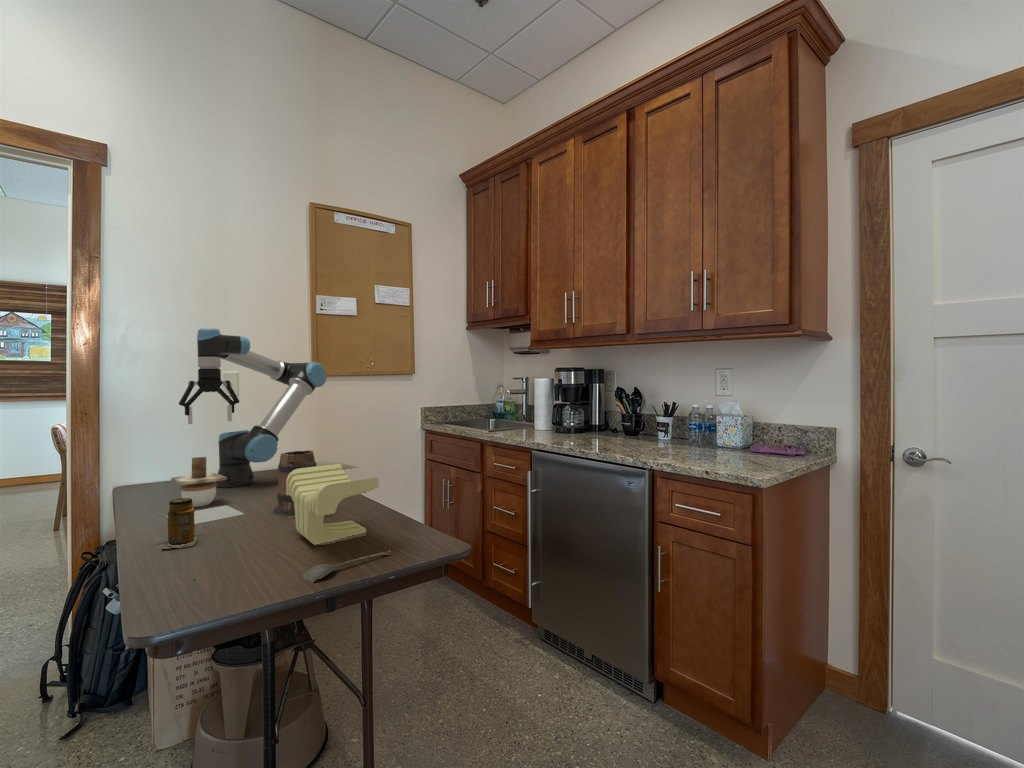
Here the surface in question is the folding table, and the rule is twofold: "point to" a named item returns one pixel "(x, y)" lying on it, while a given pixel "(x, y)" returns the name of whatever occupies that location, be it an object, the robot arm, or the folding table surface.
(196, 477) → the lid
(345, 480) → the slatted curved stool
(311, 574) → the soupspoon
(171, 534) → the condiment
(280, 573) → the folding table surface
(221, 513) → the mat
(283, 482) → the tankard
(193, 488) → the lidded jar
